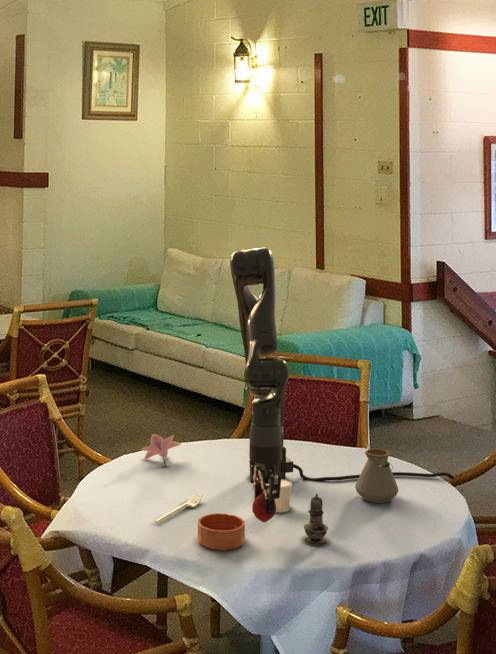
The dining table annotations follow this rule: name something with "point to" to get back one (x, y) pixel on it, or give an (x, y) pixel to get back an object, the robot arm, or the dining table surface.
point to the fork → (190, 503)
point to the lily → (159, 446)
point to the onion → (261, 508)
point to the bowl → (221, 531)
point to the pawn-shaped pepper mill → (315, 524)
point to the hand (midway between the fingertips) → (264, 508)
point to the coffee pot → (377, 478)
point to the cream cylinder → (283, 496)
